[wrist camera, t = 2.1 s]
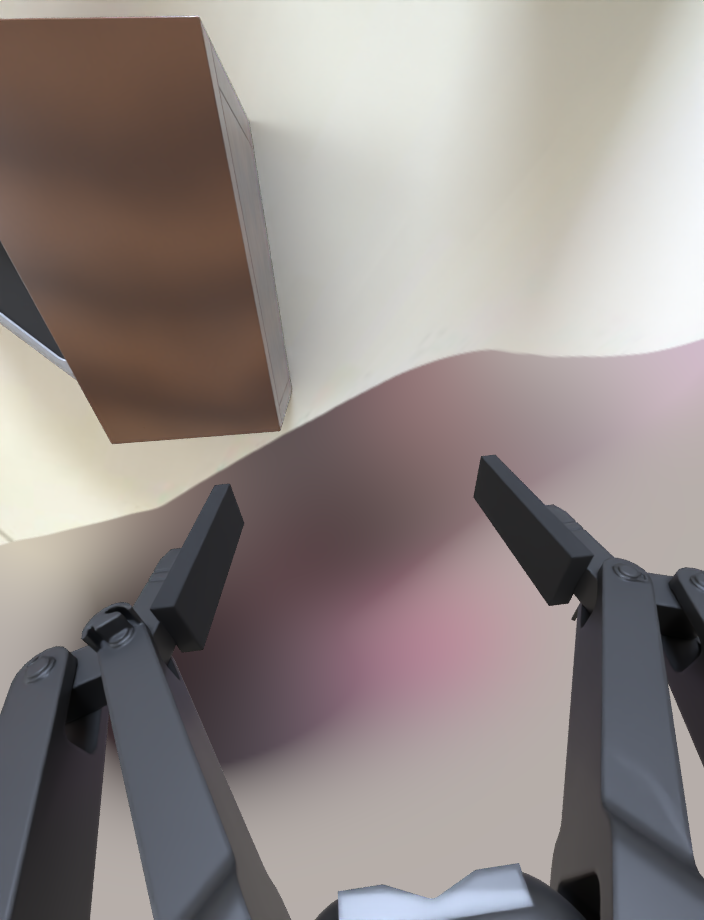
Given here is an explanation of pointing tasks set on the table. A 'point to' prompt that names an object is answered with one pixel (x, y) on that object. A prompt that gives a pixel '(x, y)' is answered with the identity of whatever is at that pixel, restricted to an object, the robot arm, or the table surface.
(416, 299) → the table surface
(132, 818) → the robot arm
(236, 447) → the table surface
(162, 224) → the desk riser
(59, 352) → the grey box with recess
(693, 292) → the table surface
